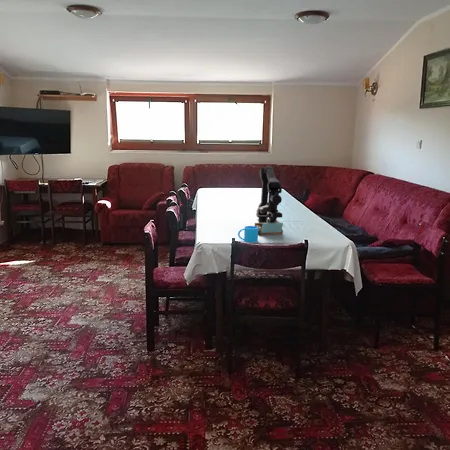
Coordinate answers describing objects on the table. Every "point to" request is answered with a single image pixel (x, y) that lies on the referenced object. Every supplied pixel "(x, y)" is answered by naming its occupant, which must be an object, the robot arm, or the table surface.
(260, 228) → the truck bed
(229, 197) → the table surface
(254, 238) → the mug
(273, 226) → the panel
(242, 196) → the table surface
